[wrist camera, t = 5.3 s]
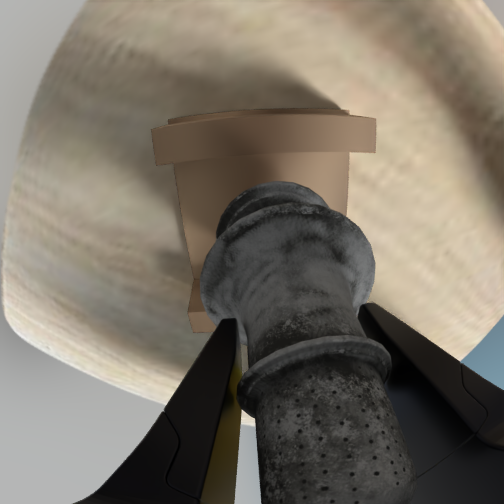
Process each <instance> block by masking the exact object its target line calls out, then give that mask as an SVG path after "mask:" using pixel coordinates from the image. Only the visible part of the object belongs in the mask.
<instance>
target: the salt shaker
mask: <svg viewBox="0 0 504 504" xmlns="http://www.w3.org/2000/svg"><path fill="white" fill-rule="evenodd" d="M374 277H375V260H374V256H373V252H372V248H371V244H370V243H369V241H368V240H367V238H366V237H365V235H364V234H363V232H362V231H361V229H360V228H359V227H358V226H357V225H356V224H355V223H353V222H352V221H351V220H350V219H348V218H347V217H346V216H345V215H343V214H342V213H340V212H337V211H335V210H332V209H330V208H329V206H328V205H327V204H326V202H325V201H324V200H323V198H322V197H321V196H319V195H318V194H317V193H315V192H314V191H312V190H311V189H310V188H308V187H305V186H302V185H300V184H297V183H294V182H285V181H272V182H267V183H262V184H258V185H256V186H254V187H251V188H249V189H247V190H245V191H243V192H242V193H241V194H239V195H238V196H237V197H236V198H235V199H234V200H232V201H231V202H230V203H229V205H228V206H227V208H226V209H225V211H224V212H223V214H222V215H221V217H220V220H219V223H218V226H217V230H216V242H215V243H214V245H213V246H212V248H211V249H210V251H209V252H208V254H207V255H206V258H205V261H204V264H203V268H202V271H201V275H200V298H201V300H202V303H203V306H204V308H205V311H206V313H207V315H208V317H209V318H210V319H211V321H212V322H213V323H214V324H215V326H216V327H217V326H218V324H219V323H220V321H221V320H222V319H224V318H236V319H237V322H238V329H239V336H240V343H241V344H244V345H246V346H247V348H248V366H249V370H248V371H246V372H245V373H244V374H243V376H242V378H241V380H240V381H239V383H238V385H237V394H236V400H237V402H238V404H239V406H240V407H241V409H242V410H243V411H245V412H246V413H247V414H248V415H250V416H251V417H253V418H255V423H256V438H257V451H258V465H259V478H260V491H261V503H262V504H410V503H411V500H412V498H413V496H414V493H415V491H416V489H417V474H416V470H415V467H414V464H413V461H412V458H411V455H410V452H409V449H408V447H407V444H406V441H405V438H404V435H403V433H402V430H401V427H400V425H399V422H398V419H397V417H396V414H395V412H394V409H393V406H392V404H391V401H390V399H389V396H388V394H387V391H386V389H385V387H384V384H385V382H386V381H387V379H388V378H389V375H390V371H391V368H392V363H391V356H390V354H389V352H388V351H387V350H386V349H385V348H384V346H383V345H382V344H380V343H378V342H376V341H374V340H372V339H370V338H367V337H366V335H365V333H364V331H363V329H362V327H361V324H360V322H359V320H358V318H357V315H358V312H359V308H360V306H361V305H362V304H365V303H366V302H367V300H368V298H369V295H370V292H371V289H372V287H373V284H374Z"/></svg>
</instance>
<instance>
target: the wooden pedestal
mask: <svg viewBox="0 0 504 504" xmlns="http://www.w3.org/2000/svg"><path fill="white" fill-rule="evenodd" d="M151 132H152V140H153V147H154V154H155V161H156V166H157V165H164V164H170V163H173V164H174V171H175V177H176V184H177V190H178V197H179V203H180V209H181V215H182V220H183V226H184V231H185V237H186V242H187V247H188V253H189V258H190V263H191V268H192V272H193V277H194V282H193V287H192V292H191V297H190V302H189V308H188V316H189V320H190V323H191V327H192V330H193V333H201V332H214V330H215V329H216V326H215V324H214V323H213V322H212V321H211V319H210V318H209V317H208V315H207V313H206V311H205V308H204V306H203V303H202V300H201V298H200V275H201V271H202V268H203V264H204V261H205V258H206V255H207V254H208V252H209V251H210V249H211V248H212V246H213V245H214V243H215V242H216V230H217V226H218V223H219V220H220V217H221V215H222V214H223V212H224V211H225V209H226V208H227V206H228V205H229V203H230V202H231V201H232V200H234V199H235V198H236V197H237V196H238V195H239V194H241V193H242V192H243V191H245V190H247V189H249V188H251V187H254V186H256V185H258V184H262V183H267V182H272V181H285V182H294V183H297V184H300V185H302V186H305V187H308V188H310V189H311V190H312V191H314V192H315V193H317V194H318V195H319V196H321V197H322V198H323V200H324V201H325V202H326V204H327V205H328V206H329V208H330V209H332V210H335V211H337V212H340V213H342V214H343V215H345V216H346V214H347V199H348V180H349V152H364V153H375V151H376V119H375V118H369V117H362V116H355V115H349V110H339V109H309V108H290V109H259V110H243V111H230V112H220V113H211V114H202V115H194V116H187V117H181V118H174V119H169V120H168V125H165V126H161V127H158V128H154V129H151Z"/></svg>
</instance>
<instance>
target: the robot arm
mask: <svg viewBox="0 0 504 504" xmlns="http://www.w3.org/2000/svg"><path fill="white" fill-rule="evenodd" d="M357 318H358V320H359V322H360V324H361V327H362V329H363V331H364V333H365V335H366V337H367V338H370V339H372V340H374V341H376V342H378V343H380V344H382V345H383V346H384V348H385V349H386V350H387V351H388V352H389V354H390V356H391V363H392V368H391V371H390V375H389V378H388V379H387V381H386V382H385V384H384V387H385V389H386V391H387V394H388V396H389V399H390V401H391V404H392V406H393V409H394V412H395V414H396V417H397V419H398V422H399V425H400V427H401V430H402V433H403V435H404V438H405V441H406V444H407V447H408V449H409V452H410V455H411V458H412V461H413V464H414V467H415V470H416V474H417V489H416V491H415V493H414V496H413V498H412V500H411V503H410V504H504V390H502V389H501V388H499V387H497V386H496V385H494V384H492V383H491V382H489V381H487V380H486V379H484V378H483V377H481V376H480V375H478V374H477V373H475V372H474V371H472V370H471V369H470V368H468V367H467V366H465V365H464V364H462V363H460V361H458V360H457V359H456V358H454V357H453V356H451V355H450V354H448V353H447V352H446V351H444V350H443V349H441V348H440V347H439V346H437V345H436V344H434V343H433V342H431V341H430V340H429V339H427V338H426V337H424V336H423V335H421V334H420V333H418V332H417V331H415V330H414V329H413V328H411V327H410V326H408V325H407V324H405V323H404V322H402V321H401V320H399V319H398V318H396V317H395V316H394V315H392V314H391V313H389V312H388V311H386V310H385V309H383V308H382V307H380V306H379V305H377V304H376V303H365V304H362V305H361V306H360V308H359V312H358V316H357ZM241 378H242V364H241V346H240V336H239V329H238V322H237V319H236V318H224V319H222V320H221V321H220V323H219V324H218V326H217V327H216V329H215V330H214V332H213V333H212V335H211V337H210V338H209V340H208V341H207V343H206V344H205V346H204V348H203V349H202V351H201V352H200V354H199V355H198V357H197V358H196V360H195V362H194V363H193V365H192V366H191V368H190V369H189V371H188V372H187V374H186V376H185V377H184V379H183V380H182V382H181V383H180V385H179V386H178V388H177V389H176V391H175V393H174V394H173V396H172V397H171V399H170V400H169V402H168V403H167V405H166V406H165V408H164V411H163V412H161V414H160V415H159V417H158V418H157V420H156V422H155V423H154V424H153V426H152V427H151V429H150V430H149V431H148V433H147V434H146V436H145V437H144V438H143V440H142V441H141V442H140V443H139V445H138V446H137V447H136V448H135V449H134V451H133V452H132V453H131V454H130V455H129V456H128V457H127V459H126V460H125V461H124V462H123V463H122V464H121V465H120V466H119V467H118V469H117V470H116V471H115V472H114V473H113V474H112V475H111V476H110V477H109V479H108V480H107V481H106V482H105V483H104V484H103V485H102V486H101V487H100V488H99V489H98V490H97V491H95V492H94V493H93V494H91V495H90V496H88V497H86V498H85V499H83V500H80V501H78V502H76V503H73V504H234V500H235V488H236V475H237V463H238V450H239V437H240V425H241V412H242V409H241V407H240V406H239V404H238V402H237V400H236V394H237V385H238V383H239V381H240V380H241Z"/></svg>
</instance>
